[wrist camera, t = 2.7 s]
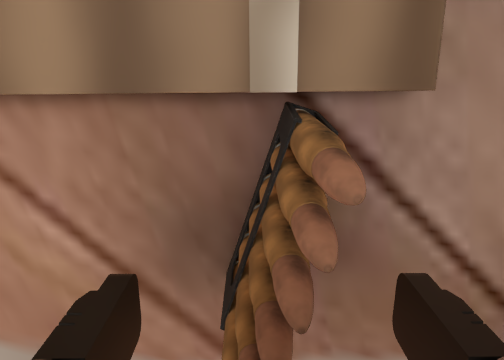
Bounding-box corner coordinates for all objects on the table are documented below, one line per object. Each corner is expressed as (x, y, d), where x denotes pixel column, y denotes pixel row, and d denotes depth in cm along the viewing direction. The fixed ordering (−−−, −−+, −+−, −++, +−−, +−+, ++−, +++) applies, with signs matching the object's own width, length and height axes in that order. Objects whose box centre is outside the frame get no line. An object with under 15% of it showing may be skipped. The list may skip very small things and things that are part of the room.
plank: (423, -71, 17) (462, -103, 14) (407, 87, 19) (438, 90, 16) (-144, -64, 17) (-233, -95, 14) (-102, 92, 19) (-172, 96, 16)
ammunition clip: (255, 284, 22) (258, 512, 11) (225, 276, 22) (196, 497, 11) (319, 112, 20) (416, 172, 8) (285, 101, 19) (334, 146, 8)
